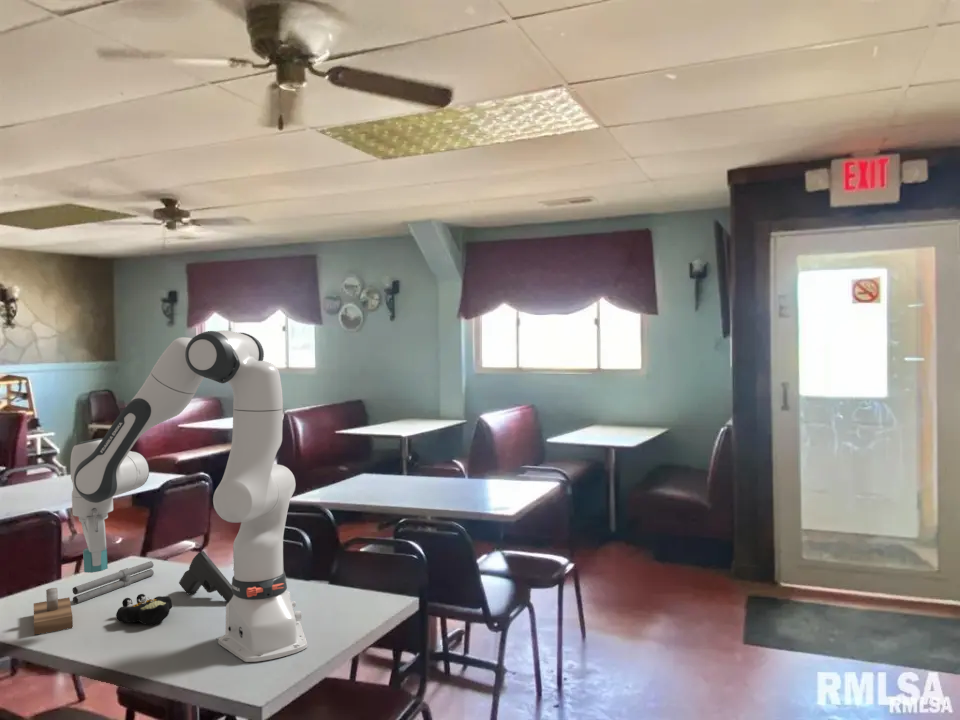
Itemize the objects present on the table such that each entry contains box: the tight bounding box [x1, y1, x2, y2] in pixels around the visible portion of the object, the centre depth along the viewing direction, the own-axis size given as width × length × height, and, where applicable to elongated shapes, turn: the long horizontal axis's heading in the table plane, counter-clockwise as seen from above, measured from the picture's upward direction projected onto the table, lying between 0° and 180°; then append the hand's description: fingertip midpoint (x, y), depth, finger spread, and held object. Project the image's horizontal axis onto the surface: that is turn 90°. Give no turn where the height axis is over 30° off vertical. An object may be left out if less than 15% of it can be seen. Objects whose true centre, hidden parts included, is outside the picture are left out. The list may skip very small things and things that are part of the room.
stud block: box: [33, 587, 74, 636], centre depth 183 cm, size 16×8×8 cm, turn 32°
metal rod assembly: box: [72, 560, 155, 604], centre depth 207 cm, size 26×3×5 cm, turn 157°
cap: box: [82, 547, 109, 574], centre depth 179 cm, size 5×5×5 cm
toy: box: [115, 593, 173, 626], centre depth 183 cm, size 12×8×15 cm
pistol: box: [178, 550, 233, 604], centre depth 199 cm, size 18×4×13 cm
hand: (95, 562), depth 179 cm, fingers closed on cap, 5 cm apart
